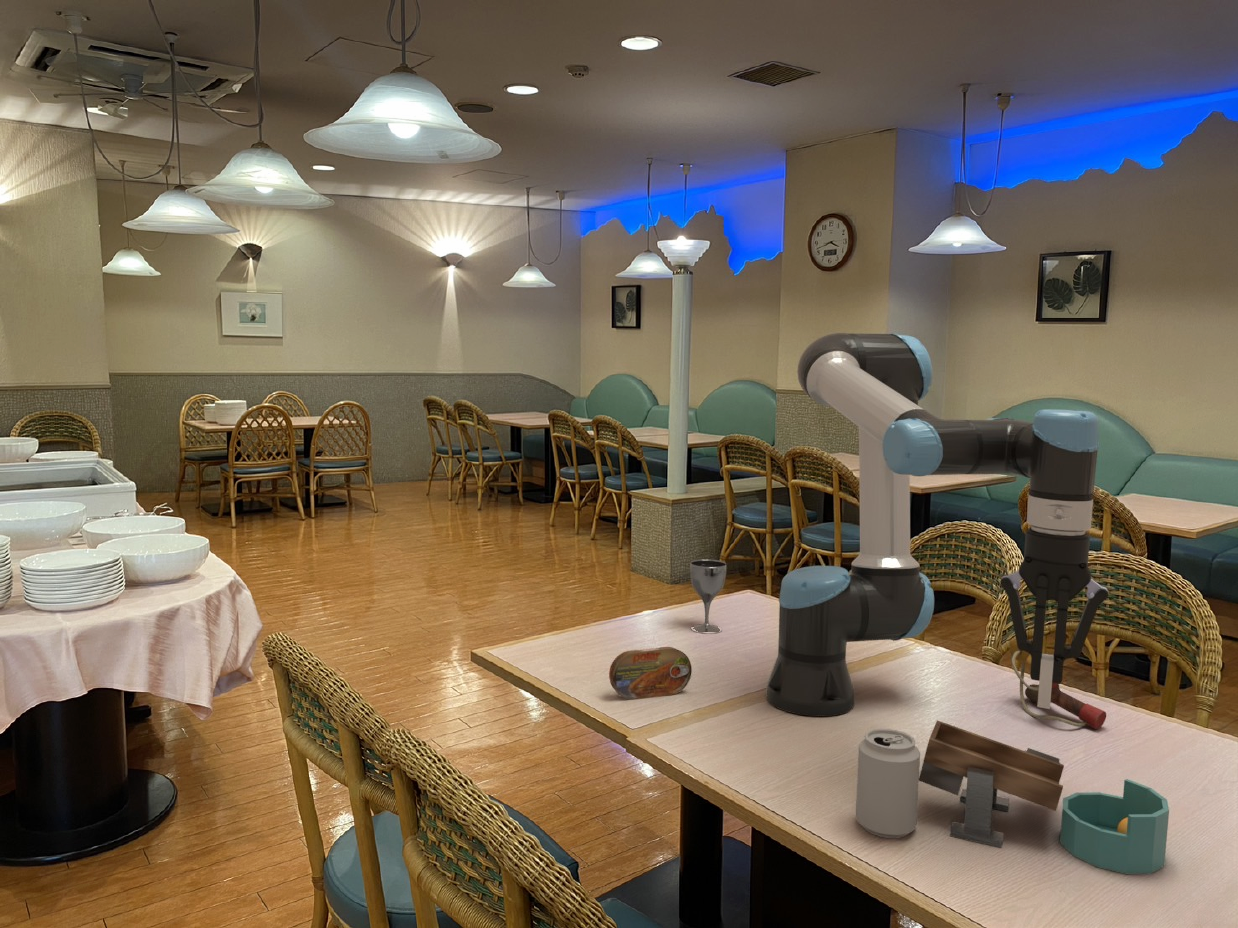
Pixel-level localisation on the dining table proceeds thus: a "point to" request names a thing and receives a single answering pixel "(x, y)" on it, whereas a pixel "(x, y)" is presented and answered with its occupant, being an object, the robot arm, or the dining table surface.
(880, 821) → the can
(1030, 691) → the slingshot
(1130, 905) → the dining table surface
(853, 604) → the robot arm
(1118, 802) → the teal container
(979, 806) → the stand
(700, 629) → the wine glass
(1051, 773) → the lever
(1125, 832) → the ball
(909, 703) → the dining table surface
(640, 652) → the tin
